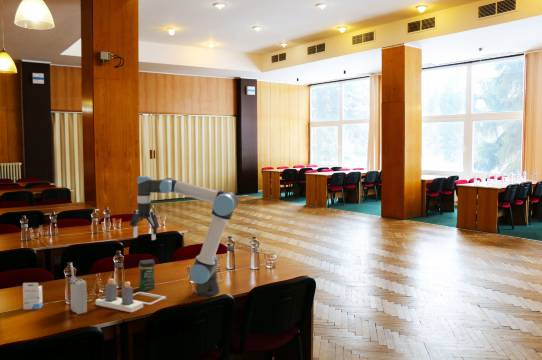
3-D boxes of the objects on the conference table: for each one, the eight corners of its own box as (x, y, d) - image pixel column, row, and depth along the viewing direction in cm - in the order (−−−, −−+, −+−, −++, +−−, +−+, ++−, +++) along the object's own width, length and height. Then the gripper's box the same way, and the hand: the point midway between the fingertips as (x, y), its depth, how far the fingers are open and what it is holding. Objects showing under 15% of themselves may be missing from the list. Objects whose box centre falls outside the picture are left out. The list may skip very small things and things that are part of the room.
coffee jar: (140, 292, 282) (140, 262, 281) (137, 288, 289) (137, 259, 288) (156, 290, 287) (156, 260, 285) (153, 286, 294) (153, 257, 292)
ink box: (43, 306, 257) (42, 280, 256) (39, 309, 252) (38, 282, 251) (27, 306, 256) (26, 280, 255) (23, 309, 251) (22, 283, 250)
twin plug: (132, 307, 254) (132, 281, 253) (127, 309, 251) (127, 283, 249) (127, 305, 256) (127, 280, 255) (122, 308, 252) (121, 282, 251)
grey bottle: (116, 303, 259) (116, 278, 258) (111, 305, 256) (110, 280, 255) (111, 302, 261) (110, 278, 260) (105, 304, 257) (105, 279, 256)
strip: (143, 308, 254) (143, 301, 254) (131, 314, 246) (131, 306, 246) (107, 301, 266) (107, 294, 265) (95, 306, 257) (95, 298, 257)
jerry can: (68, 307, 255) (67, 263, 253) (78, 305, 258) (77, 261, 256) (77, 316, 243) (76, 269, 241) (87, 314, 246) (86, 267, 244)
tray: (166, 299, 270) (166, 296, 270) (150, 306, 258) (150, 303, 258) (139, 293, 279) (139, 291, 279) (122, 300, 267) (122, 298, 266)
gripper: (165, 203, 268) (165, 239, 270) (132, 200, 279) (132, 235, 281) (156, 204, 262) (157, 241, 263) (123, 201, 272) (123, 237, 274)
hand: (144, 238), depth 272 cm, fingers open, 13 cm apart
